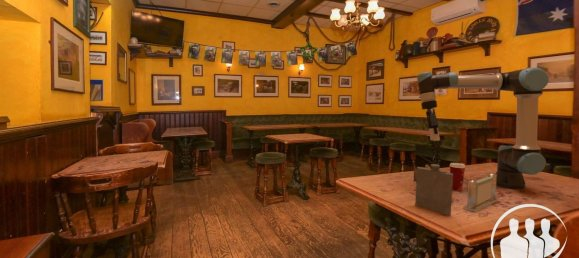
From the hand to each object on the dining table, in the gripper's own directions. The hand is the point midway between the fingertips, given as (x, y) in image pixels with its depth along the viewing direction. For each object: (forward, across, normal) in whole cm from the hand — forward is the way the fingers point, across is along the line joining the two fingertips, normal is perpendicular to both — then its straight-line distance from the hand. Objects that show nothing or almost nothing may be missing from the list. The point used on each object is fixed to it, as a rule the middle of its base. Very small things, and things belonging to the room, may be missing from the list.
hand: (435, 140), depth 156 cm
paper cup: (+28, -9, +7) cm, 30 cm away
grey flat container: (+24, -22, -8) cm, 34 cm away
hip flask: (+29, +30, -9) cm, 43 cm away
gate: (+30, +16, +13) cm, 36 cm away
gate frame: (+31, +15, +13) cm, 37 cm away
